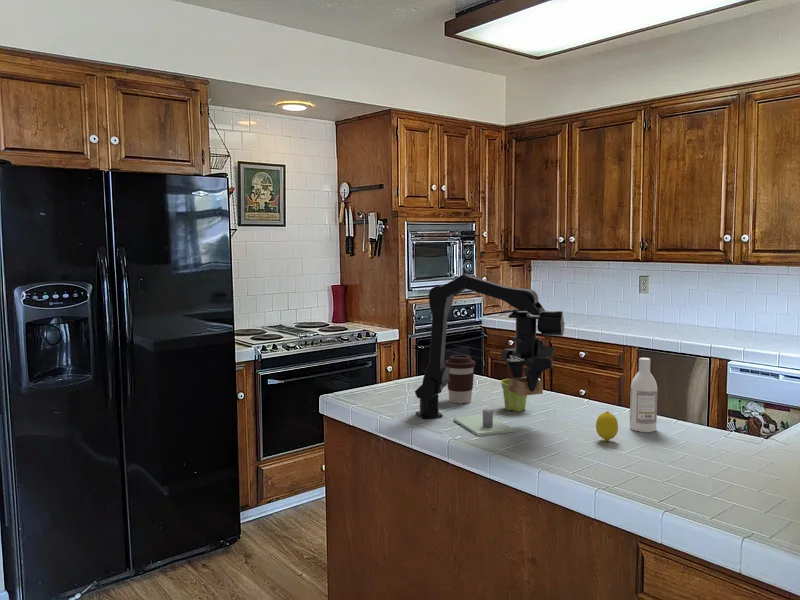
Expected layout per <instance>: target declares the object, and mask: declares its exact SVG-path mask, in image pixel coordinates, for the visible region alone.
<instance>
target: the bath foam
mask: <svg viewBox="0 0 800 600" xmlns="http://www.w3.org/2000/svg"><path fill="white" fill-rule="evenodd" d="M629 394H630V398H629V399H630V400H629V403H630V404H629V428H630V429H631V430H632V431H634V430H635V431H634V432H638V431H639V432H638V433H653V431H654V432H655V431H657V420H658V419H657V417H658V416H657V415H658V385H657V381H656V379H655V377H654V376H653V374H652V373H651V358H650V357H639V358H638V371H637V373H636V374H635V375H634V377H633V378H632V381H631V384H630V393H629Z"/></svg>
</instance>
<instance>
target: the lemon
mask: <svg viewBox="0 0 800 600" xmlns="http://www.w3.org/2000/svg"><path fill="white" fill-rule="evenodd" d="M595 429H596V433H597V435H598V436H599V438H601V439H603V440H604V441H605V442H608V441H610V440H612V439H614V438H615V437H616V436H617V434H618V431H619V423H618V419H617V417H616V416H615V415H614V414H613V413H611V412H610V411H607V410H606V411H605V412H602V413H601V414H599V415H598V417H597V418H596V424H595Z"/></svg>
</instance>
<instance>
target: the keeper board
mask: <svg viewBox="0 0 800 600" xmlns="http://www.w3.org/2000/svg"><path fill="white" fill-rule="evenodd" d="M453 422H455V423H456V422H457V423H456V424H458V425H459V424H460V425H459V426H461V427H463V428H464V427H465V428H464V429H466V430H467V429H468V430H467V431H469V432H470V431H471V432H470V433H472V434H474V435H475V436H477V437H482V436H484V437H485V436H491V435H492V436H493V435H499V434H500V433H501V434H508V433H515V432H514V431H515V429H514V428H513V427H511V426H509V425H508V424H505V423H504V422H502V421H500V420H498V419H496V418H494V410H493V409H488V408H486V409H482V414H479V415H471V416H470V415H469V416H461V417H454V418H453Z"/></svg>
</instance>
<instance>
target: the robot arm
mask: <svg viewBox="0 0 800 600" xmlns="http://www.w3.org/2000/svg"><path fill="white" fill-rule="evenodd" d="M465 290H468V291H469V290H470V291H472V292H476V293H478V294H482V295H485V296H488V297H492V298H494V299H496V300H497V299H498V300H501V301H503V302H504V303H507V304H508V305H510V306H512V307H513V308H514V309H513V311H512V312H511V313H510V314H509V315H508V318H509V319H515V336H512V341H513V342H515V346H514V347H512V348H511V347H510V348H503V349H502V350H501V351H500V360H501V359H502V360H504V363H505V364H506V366H507V368H508V370H509V372H510V373H511V376H512V378H518V377H523V370H524V374H525V377H526V378H527V382H528V386H529V389H530V391H534V390H535V387H536V384H537V381H538V380H540V379H539V378H540V376H541V374H542V373H543V372H544V371H547V370H549V369H553V361H552V359H553V356H554V353H555V350H556V348H554V347H551V346H550V345H549V346H548V345H546V344H544V341H542V340H541V339H540V338H539V337H537V332H538V333H540V334H541V335H542V336H554V337H555V336H556V337H558V336H559V337H563V336H564V333H565V320H564V315H563V312H564V311H563V310H555V311H548V310H546V309H545V308H544V307H543V305H542V304H541V302H539V296H538V294H537V292H536V291H535V290H533V289H529V288H522V287H521V288H520V287H512V286H511V287H510V286H507V285H506V286H505V285H501V284H499V283H495V282H494V281H493V282H492V281H489V280H487V279H486V280H485V279H482V278H479V277H476V276H472V275H471V274H467V273H464V274H461V275H460V276H458V277H457V278H455V279H453V280H451V281H448V282H447V283H446V284H443V285H442V284H441V285H436V286H433V287H432V288H431V289H430V290H429V292H428V303H429V304H428V305H429V309H430V312H431V316H432V317H431V320H432V321H431V332H430V333H431V334H430V345H429V347H430V348H429V359H428V360H429V361H428V364H427V365H426V368H425V371H424V375H423V378H422V383H421V385H420V386H419V387H418V388H417V389H416V390H415V392H414V393H415V396H416V398H417V399H419V411H416V412H415V414H416V415H417V416H418V417H420V418H422V419H424V420H426V419H431V418H433V419H434V418H443V416H444V415H443V414H442V413H440V412H439V409H440V408H439V403H440V402H439V394H441V393H442V390H443V389H444V388H446V386H448V385H447V382H448V381H450V379H449V373H450V368H447V367H446V366H445V356H446V355H445V354H446V343H447V342H446V339H447V330H448V329H447V328H448V315H449V313H450V311H451V308H452V306H453V302H454V298H455V296H457V295H458V294H460V293H462V292H463V291H465ZM525 365H526V367H524V366H525Z"/></svg>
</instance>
